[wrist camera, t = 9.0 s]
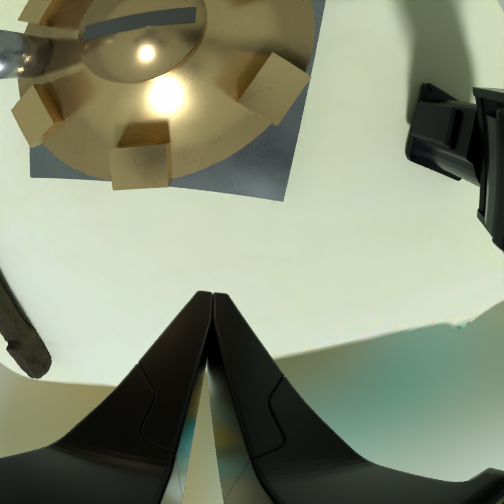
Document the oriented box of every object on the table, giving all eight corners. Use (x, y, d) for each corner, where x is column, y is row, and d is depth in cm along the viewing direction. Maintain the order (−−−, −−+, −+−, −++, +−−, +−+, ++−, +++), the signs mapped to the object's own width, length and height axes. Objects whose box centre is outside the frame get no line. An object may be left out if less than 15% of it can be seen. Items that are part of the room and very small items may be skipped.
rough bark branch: (-35, 225, 17) (-62, 247, 13) (-19, 216, 17) (-48, 239, 13) (39, 357, 27) (26, 384, 22) (59, 358, 26) (47, 387, 22)
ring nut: (300, -56, 9) (335, -112, 3) (293, 168, 16) (332, 210, 10) (59, -28, 7) (4, -55, 1) (51, 180, 15) (-14, 223, 9)
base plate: (326, -36, 11) (334, -45, 9) (279, 194, 19) (283, 202, 18) (80, -43, 8) (71, -50, 6) (41, 171, 16) (29, 178, 15)
